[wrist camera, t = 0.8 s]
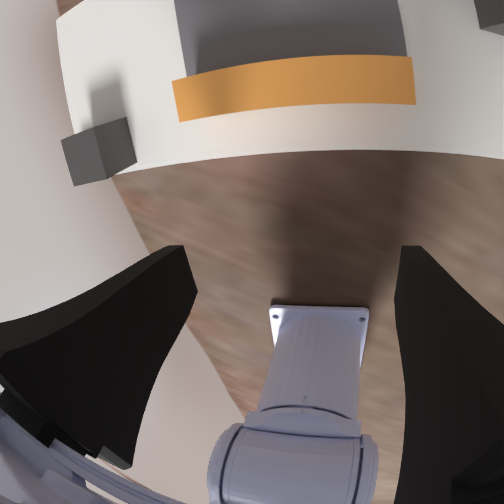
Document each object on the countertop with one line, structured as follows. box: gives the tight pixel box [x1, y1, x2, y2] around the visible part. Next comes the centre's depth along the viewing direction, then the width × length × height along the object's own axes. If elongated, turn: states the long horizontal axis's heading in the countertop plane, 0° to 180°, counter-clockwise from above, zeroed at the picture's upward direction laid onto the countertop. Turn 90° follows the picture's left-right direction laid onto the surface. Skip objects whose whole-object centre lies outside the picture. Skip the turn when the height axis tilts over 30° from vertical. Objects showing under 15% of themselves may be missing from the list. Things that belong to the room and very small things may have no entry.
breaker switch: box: [172, 55, 416, 122], centre depth 11 cm, size 2×10×2 cm, turn 99°
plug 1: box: [61, 117, 137, 186], centre depth 15 cm, size 4×3×3 cm
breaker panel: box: [56, 0, 504, 175], centre depth 12 cm, size 13×30×3 cm, turn 99°
